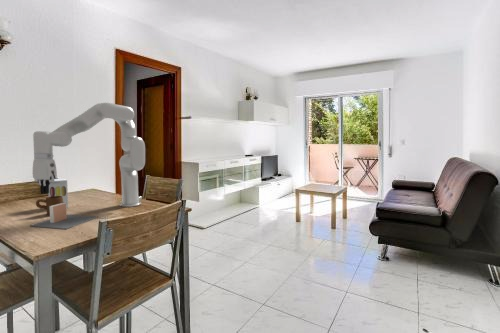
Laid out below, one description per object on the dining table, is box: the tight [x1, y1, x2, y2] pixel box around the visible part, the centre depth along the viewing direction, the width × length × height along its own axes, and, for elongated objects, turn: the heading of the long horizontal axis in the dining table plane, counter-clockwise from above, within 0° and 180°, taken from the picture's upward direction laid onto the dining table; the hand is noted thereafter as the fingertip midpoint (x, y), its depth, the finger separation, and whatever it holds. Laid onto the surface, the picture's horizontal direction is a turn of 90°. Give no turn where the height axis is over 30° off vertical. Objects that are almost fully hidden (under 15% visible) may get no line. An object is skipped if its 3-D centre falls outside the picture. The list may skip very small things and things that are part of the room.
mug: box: [35, 196, 63, 217], centre depth 153 cm, size 12×8×9 cm, turn 130°
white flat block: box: [49, 203, 67, 223], centre depth 141 cm, size 7×2×8 cm, turn 168°
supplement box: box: [47, 178, 69, 209], centre depth 169 cm, size 10×9×17 cm
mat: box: [29, 214, 99, 230], centre depth 140 cm, size 20×20×1 cm
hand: (44, 193), depth 141 cm, fingers closed
